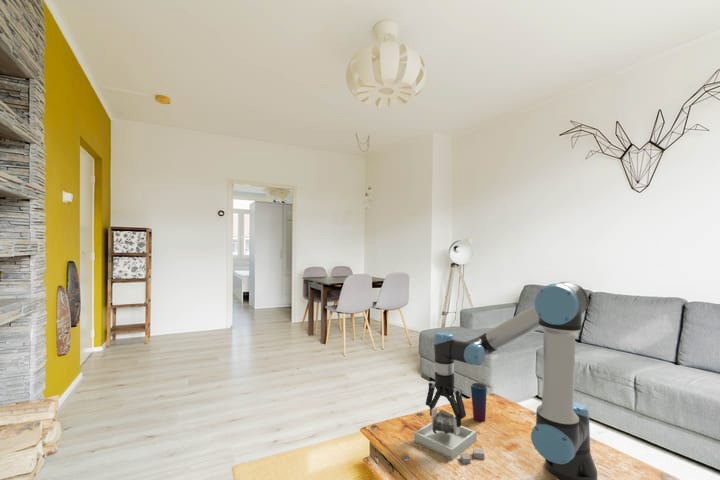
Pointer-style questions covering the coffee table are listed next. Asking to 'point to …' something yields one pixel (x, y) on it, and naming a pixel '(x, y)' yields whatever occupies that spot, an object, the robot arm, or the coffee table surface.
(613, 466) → the coffee table surface
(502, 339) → the robot arm
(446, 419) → the rock
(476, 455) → the grey small block
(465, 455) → the chip
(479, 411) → the cup
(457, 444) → the bin
